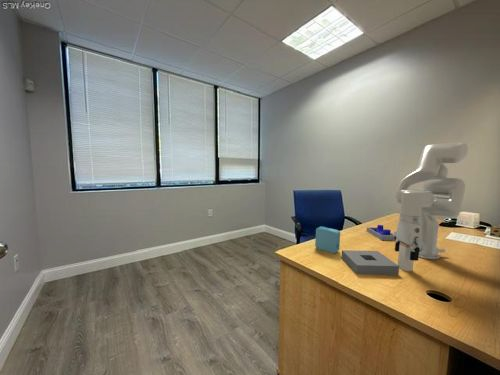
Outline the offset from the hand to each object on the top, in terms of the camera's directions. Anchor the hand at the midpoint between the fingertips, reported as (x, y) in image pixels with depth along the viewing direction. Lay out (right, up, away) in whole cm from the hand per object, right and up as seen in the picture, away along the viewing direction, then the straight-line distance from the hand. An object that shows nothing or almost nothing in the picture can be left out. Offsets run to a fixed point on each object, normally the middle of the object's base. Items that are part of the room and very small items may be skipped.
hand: (405, 255), depth 96 cm
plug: (0, -6, +1) cm, 6 cm away
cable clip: (+18, -2, +46) cm, 50 cm away
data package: (-28, -4, +22) cm, 36 cm away
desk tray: (+17, -2, +46) cm, 50 cm away
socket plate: (-16, -6, +3) cm, 17 cm away
